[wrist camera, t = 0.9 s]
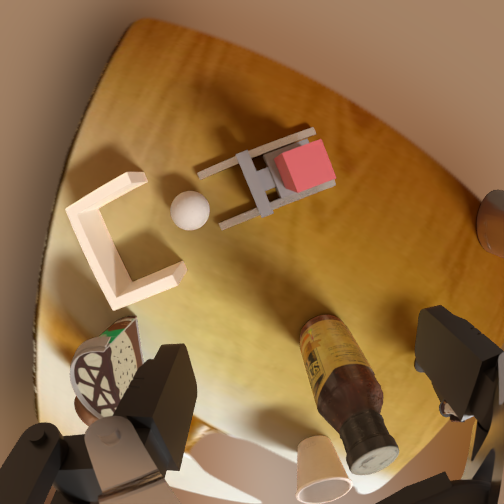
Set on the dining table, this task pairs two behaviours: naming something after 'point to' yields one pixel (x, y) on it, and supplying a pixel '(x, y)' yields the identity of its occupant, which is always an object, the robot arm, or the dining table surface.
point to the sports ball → (190, 210)
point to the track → (257, 152)
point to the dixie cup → (320, 472)
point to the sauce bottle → (347, 393)
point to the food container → (107, 366)
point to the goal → (105, 253)
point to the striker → (287, 171)
